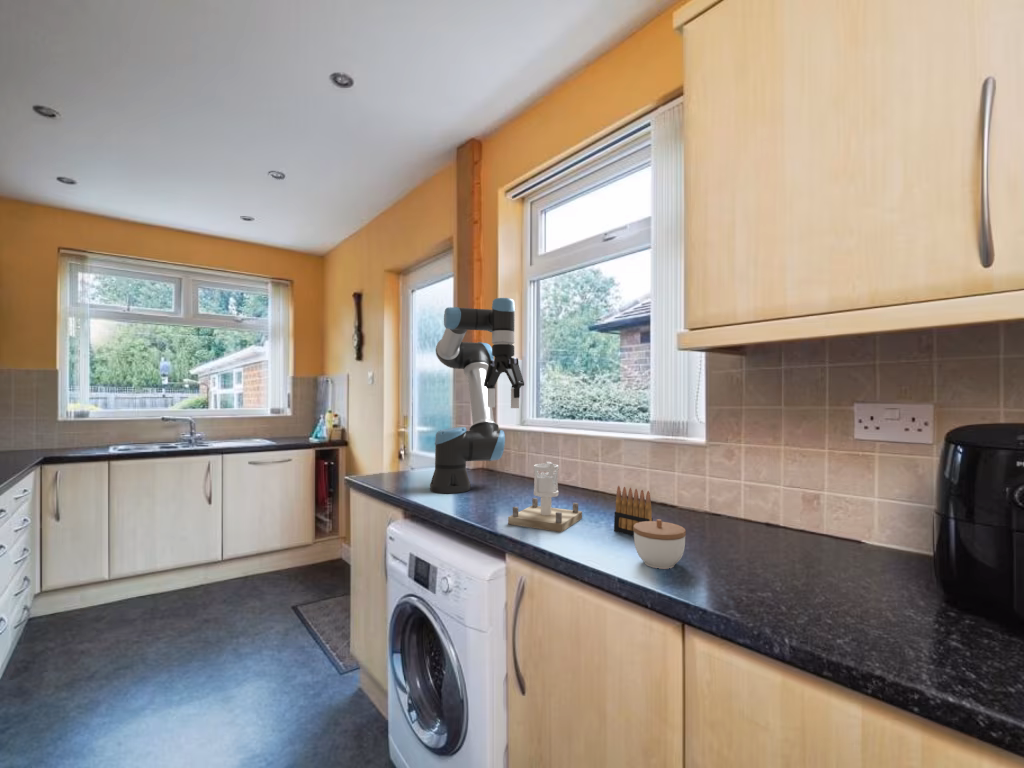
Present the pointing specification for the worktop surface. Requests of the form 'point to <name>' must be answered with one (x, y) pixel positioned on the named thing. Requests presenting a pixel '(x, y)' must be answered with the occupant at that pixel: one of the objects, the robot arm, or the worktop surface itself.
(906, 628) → the worktop surface
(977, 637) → the worktop surface
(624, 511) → the ammunition clip
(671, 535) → the lidded jar
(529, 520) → the board
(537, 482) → the white stemmed cylinder
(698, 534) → the worktop surface
